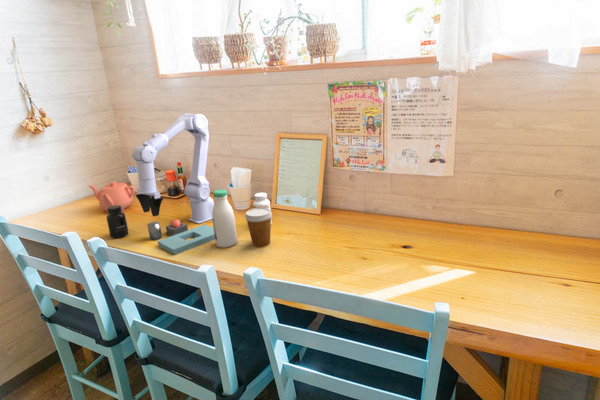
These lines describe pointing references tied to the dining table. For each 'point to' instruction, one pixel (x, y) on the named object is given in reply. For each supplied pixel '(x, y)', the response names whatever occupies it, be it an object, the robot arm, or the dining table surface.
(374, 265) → the dining table surface
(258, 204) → the supplement bottle
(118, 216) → the supplement bottle
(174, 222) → the button
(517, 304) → the dining table surface
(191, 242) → the plate
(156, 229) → the cylinder
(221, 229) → the milk bottle
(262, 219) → the disposable coffee cup
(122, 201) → the teapot
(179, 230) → the button housing
